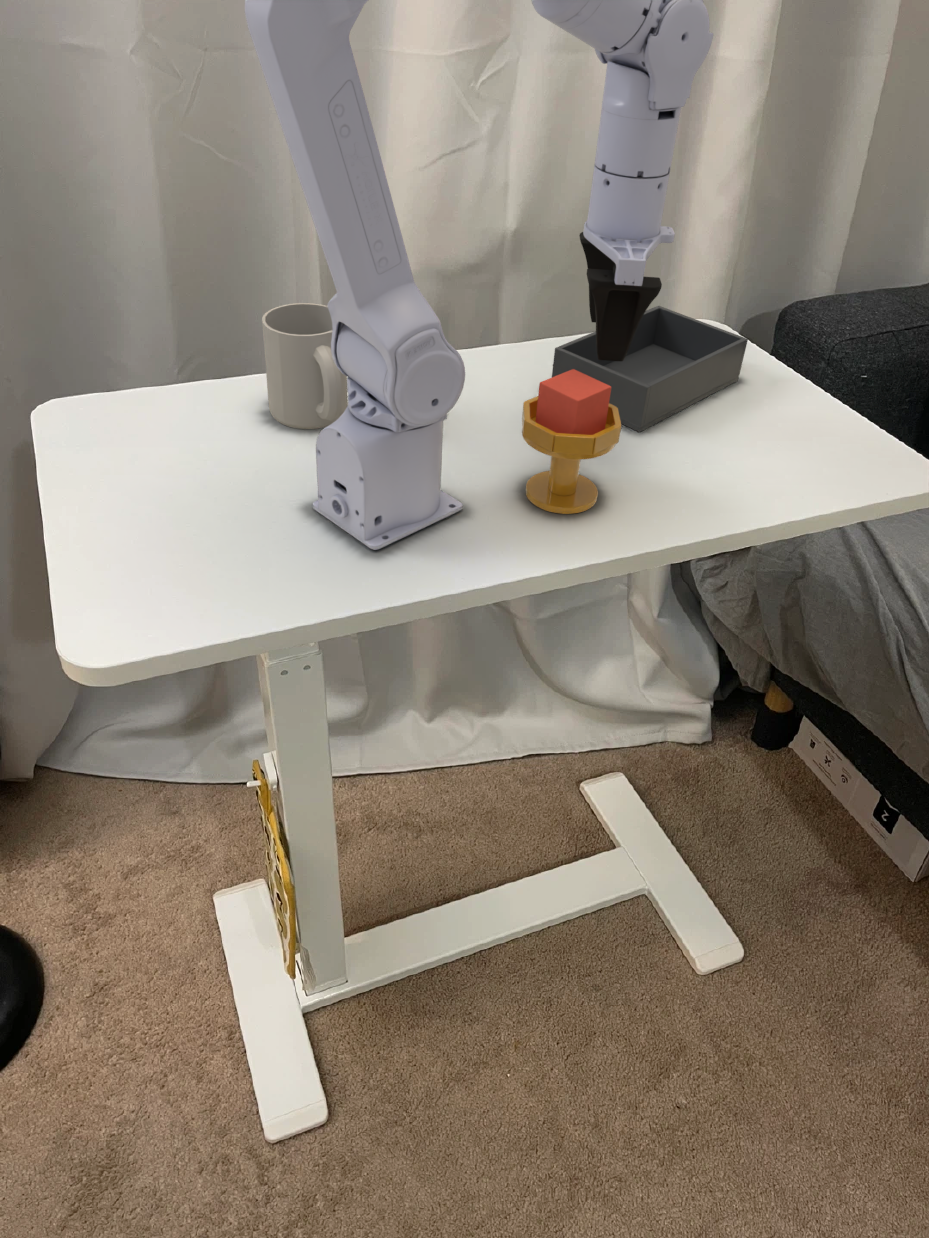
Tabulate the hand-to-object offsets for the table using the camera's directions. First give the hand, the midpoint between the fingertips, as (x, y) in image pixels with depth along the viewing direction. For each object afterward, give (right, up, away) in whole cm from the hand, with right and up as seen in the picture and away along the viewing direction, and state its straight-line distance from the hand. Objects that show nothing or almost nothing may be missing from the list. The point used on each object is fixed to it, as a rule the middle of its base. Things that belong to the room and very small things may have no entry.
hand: (606, 339), depth 84 cm
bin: (+6, 0, +17) cm, 18 cm away
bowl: (-4, -13, 0) cm, 14 cm away
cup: (-26, -5, +8) cm, 27 cm away
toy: (-4, -8, -4) cm, 10 cm away
